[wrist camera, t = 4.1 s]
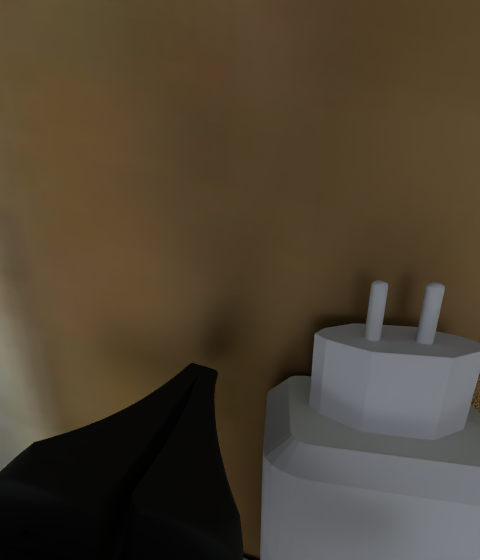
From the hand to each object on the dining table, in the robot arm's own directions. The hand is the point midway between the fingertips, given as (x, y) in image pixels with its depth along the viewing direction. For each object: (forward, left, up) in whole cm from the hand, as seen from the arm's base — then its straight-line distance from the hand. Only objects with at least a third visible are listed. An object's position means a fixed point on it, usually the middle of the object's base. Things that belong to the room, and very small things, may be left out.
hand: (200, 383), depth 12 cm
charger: (0, -8, -2) cm, 8 cm away
